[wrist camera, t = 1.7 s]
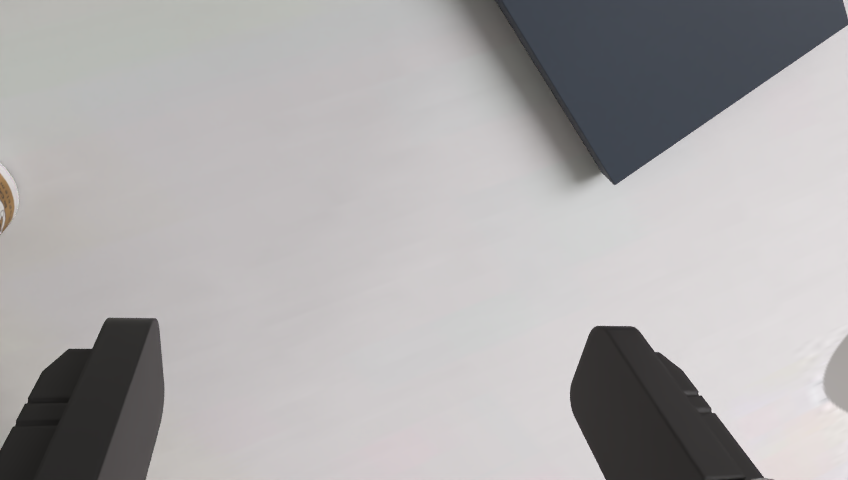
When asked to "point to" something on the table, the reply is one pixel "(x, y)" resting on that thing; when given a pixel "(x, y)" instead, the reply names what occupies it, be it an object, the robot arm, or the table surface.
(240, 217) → the table surface
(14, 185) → the pill bottle
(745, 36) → the grey button base
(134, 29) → the table surface
